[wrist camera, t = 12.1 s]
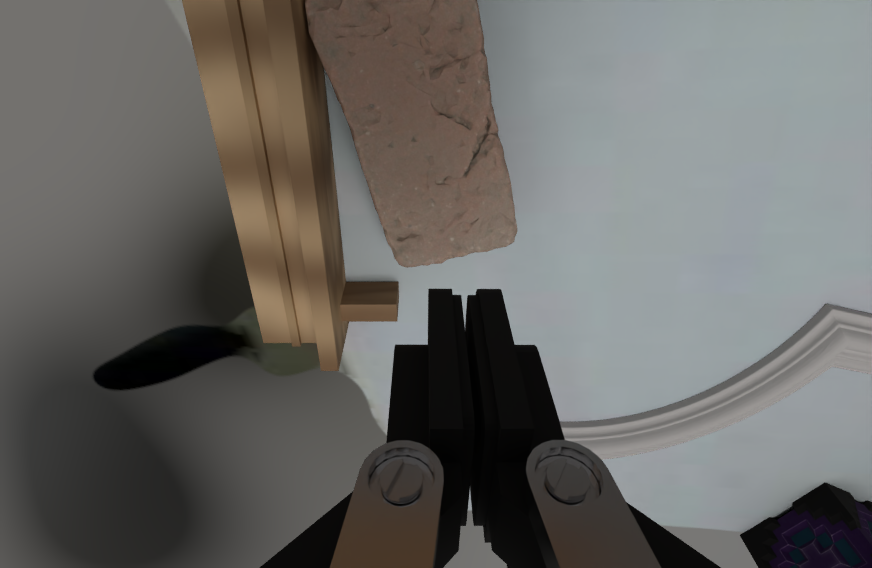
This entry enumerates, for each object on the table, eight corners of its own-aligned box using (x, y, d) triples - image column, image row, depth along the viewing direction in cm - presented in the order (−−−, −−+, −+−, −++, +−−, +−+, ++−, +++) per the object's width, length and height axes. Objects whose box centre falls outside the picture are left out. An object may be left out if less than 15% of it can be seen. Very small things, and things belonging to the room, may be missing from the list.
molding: (510, 501, 53) (515, 526, 51) (459, 444, 47) (461, 470, 45) (932, 353, 42) (963, 376, 40) (935, 255, 36) (972, 275, 34)
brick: (512, 220, 33) (524, 251, 29) (400, 247, 34) (398, 281, 30) (459, -56, 25) (466, -64, 21) (312, -8, 26) (292, -7, 22)
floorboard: (172, -154, 22) (99, -195, 17) (384, -148, 22) (374, -186, 17) (274, 318, 37) (251, 371, 32) (399, 318, 38) (396, 370, 32)
